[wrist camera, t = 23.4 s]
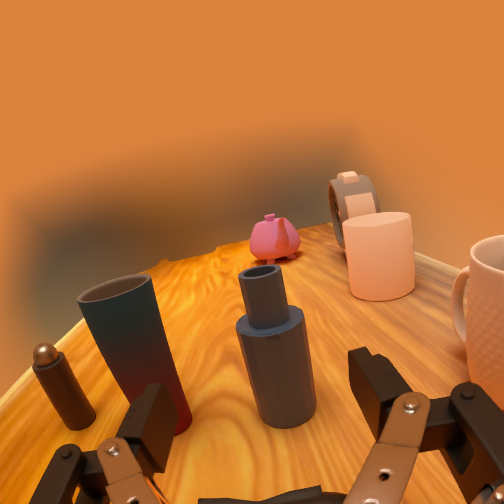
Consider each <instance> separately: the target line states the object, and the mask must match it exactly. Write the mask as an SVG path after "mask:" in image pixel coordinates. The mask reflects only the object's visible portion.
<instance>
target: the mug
mask: <svg viewBox="0 0 504 504" xmlns="http://www.w3.org/2000/svg"><path fill="white" fill-rule="evenodd" d="M468 278H469V284H468V301H467V317H466V320H467V322H466V320H465V316H464V311H463V295H464V289H465V285H466V282H467V279H468ZM451 318H452V322H453V326H454V329H455V331H456V333H457V335H458V336H459V338H460V339H461V340H462V342H463V343H464V344H465V345H466V349H467V350H466V353H467V354H466V356H467V361H468V362H467V365H468V369H469V377H470V379H471V383H475V384H477V385H479V386H480V387H482V389H483V390H484V391H485V392H486V393H487V394H488V395H489V396H490V398H491V399H492V400H493V401H494V402H495V403H496V404H497V406H498V407H499V408H500V409H501V410H504V235H499V236H494V237H490V238H486V239H484V240H482V241H479V242H477V243H476V244H475V245H474V246H473V247H472V248H471V250H470V265H469V266H467V267H465V268H464V269H462V270H461V271H460V272H459V274H458V275H457V277H456V279H455V282H454V284H453V288H452V293H451Z"/></svg>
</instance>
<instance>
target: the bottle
mask: <svg viewBox="0 0 504 504" xmlns="http://www.w3.org/2000/svg"><path fill="white" fill-rule="evenodd" d="M238 278H239V283H240V287H241V291H242V296H243V300H244V304H245V308H246V313H247V314H245V315H244V316H242V317H241V318H240V319H239V320H238V321H237V323H236V332H237V335H238V339H239V343H240V347H241V350H242V354H243V358H244V362H245V365H246V369H247V372H248V376H249V380H250V383H251V387H252V390H253V394H254V397H255V401H256V404H257V408H258V411H259V414H260V416H261V419H262V420H263V421H264V422H265V423H266V424H267V425H269V426H272V427H275V428H292V427H296V426H299V425H301V424H303V423H305V422H306V421H308V420H309V419H310V418H311V417H312V416H313V414H314V413H315V410H316V395H315V387H314V380H313V372H312V365H311V358H310V351H309V344H308V337H307V331H306V324H305V318H304V314H303V311H302V310H301V309H300V308H298V307H296V306H292V305H288V303H287V298H286V292H285V287H284V282H283V276H282V271H281V267H280V266H279V265H274V264H271V265H261V266H256V267H252V268H249V269H247V270H244V271H243V272H241V273H240V274H239V276H238Z"/></svg>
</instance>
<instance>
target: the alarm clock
mask: <svg viewBox="0 0 504 504" xmlns="http://www.w3.org/2000/svg"><path fill="white" fill-rule="evenodd" d="M328 198H329V205H330V212H331V217H332V222H333V227H334V231H335V235H336V238H337V241H338V244H339V246H340V247H341V248H343V249H344V254H345V257H346V258H347V256H346V248H345V241H344V234H343V227H342V223H343V222H344V221H346V220H348V219H351V218H354V217H358V216H363V215H368V214H375V213H381V212H380V206H379V201H378V198H377V194H376V192H375V189H374V186H373V184H372V183H371V181H370V179H369V178H368V177H367V176H365V175H357V174H356V173H355V172H354V171H350V172H344V173H339V174H338V176H337V179H333V180H330V181H329V183H328Z"/></svg>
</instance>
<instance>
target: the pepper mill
mask: <svg viewBox="0 0 504 504" xmlns="http://www.w3.org/2000/svg"><path fill="white" fill-rule="evenodd" d="M33 358H34V364H33V366H32V368H33V370H34V372H35V374H36V376H37V378H38V380H39V382H40V384H41V385H42V387H43V389H44V391H45V392H46V394H47V396H48V398H49V399H50V401H51V403H52V404H53V406H54V408H55V409H56V411H57V412H58V414H59V415H60V417H61V418H62V420H63V422H64V423H65V425H66V426H67V427H68V428H69V429H71V430H81V429H84V428H86V427H88V426H89V425H91V424H92V423H93V421H94V420H95V417H96V413H95V411H94V409H93V408H92V406H91V404H90V403H89V401H88V399H87V398H86V396H85V394H84V392H83V390H82V389H81V387H80V385H79V383H78V381H77V379H76V377H75V375H74V373H73V371H72V369H71V367H70V365H69V363H68V361H67V359H66V357H65V355H64V353H63V352H58V351H57V350H56V348H55V347H54V346H52V345H51V344H48V343H41V344H39V345H38V346H36V348H35V349H34V352H33Z"/></svg>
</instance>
